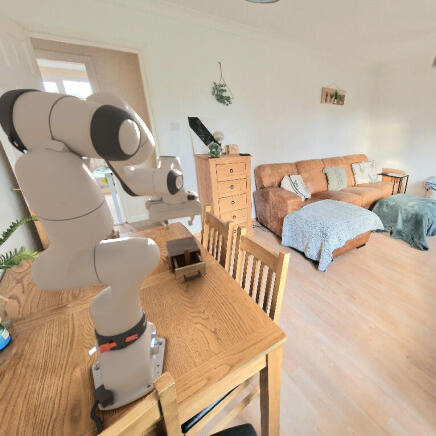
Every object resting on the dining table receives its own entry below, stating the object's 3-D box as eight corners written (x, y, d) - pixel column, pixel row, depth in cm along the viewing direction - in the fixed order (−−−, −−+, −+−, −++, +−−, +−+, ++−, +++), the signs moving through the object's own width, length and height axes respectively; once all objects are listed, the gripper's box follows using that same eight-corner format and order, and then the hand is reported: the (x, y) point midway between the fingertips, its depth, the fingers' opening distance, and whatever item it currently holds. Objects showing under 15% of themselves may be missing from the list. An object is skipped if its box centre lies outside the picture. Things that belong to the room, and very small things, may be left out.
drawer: (208, 280, 106) (207, 267, 104) (178, 289, 100) (176, 275, 98) (198, 259, 122) (197, 247, 119) (172, 265, 115) (170, 253, 113)
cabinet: (202, 264, 119) (200, 249, 116) (172, 272, 112) (169, 256, 109) (195, 249, 132) (193, 235, 129) (167, 255, 125) (165, 241, 122)
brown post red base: (196, 271, 110) (194, 250, 106) (183, 274, 108) (180, 253, 103) (194, 265, 115) (191, 244, 110) (181, 268, 112) (178, 247, 108)
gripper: (144, 202, 88) (151, 235, 94) (201, 195, 99) (204, 225, 104) (143, 197, 93) (150, 228, 99) (198, 191, 104) (201, 220, 109)
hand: (178, 227), depth 102 cm, fingers open, 8 cm apart
